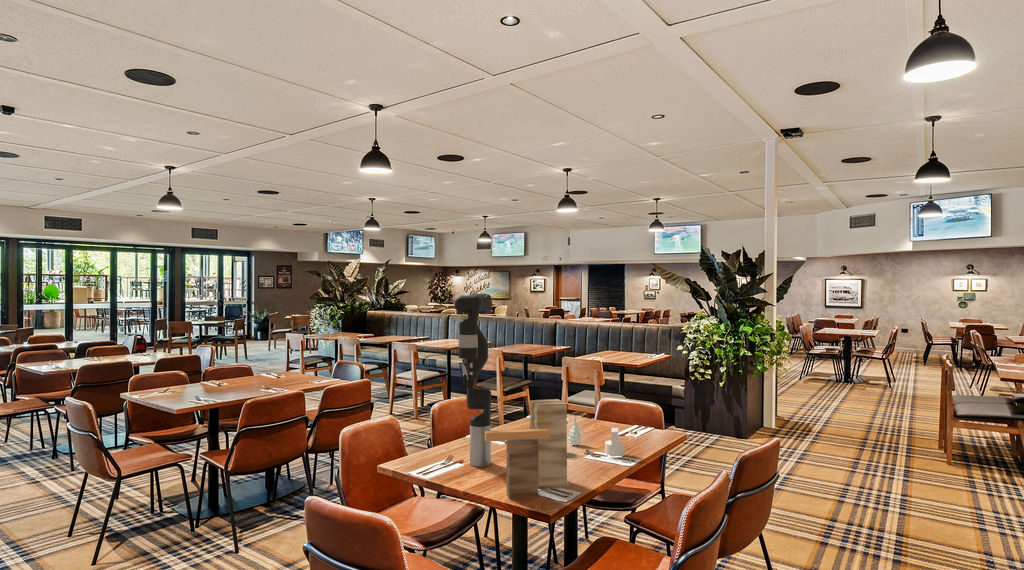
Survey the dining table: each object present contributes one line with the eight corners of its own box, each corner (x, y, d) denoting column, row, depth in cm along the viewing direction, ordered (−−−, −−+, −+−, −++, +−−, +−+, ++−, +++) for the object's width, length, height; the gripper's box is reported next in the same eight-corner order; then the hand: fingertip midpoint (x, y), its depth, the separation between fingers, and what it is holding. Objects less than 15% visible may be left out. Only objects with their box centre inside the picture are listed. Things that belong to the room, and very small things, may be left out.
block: (506, 494, 207) (506, 438, 207) (534, 492, 209) (534, 436, 210) (509, 499, 202) (509, 441, 203) (538, 496, 205) (538, 439, 205)
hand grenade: (567, 446, 274) (567, 417, 274) (570, 443, 280) (570, 415, 280) (582, 447, 271) (582, 419, 272) (585, 444, 277) (585, 416, 277)
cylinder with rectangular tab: (624, 459, 253) (624, 432, 253) (604, 457, 254) (604, 431, 255) (624, 453, 261) (624, 427, 262) (605, 452, 263) (605, 427, 263)
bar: (484, 439, 205) (484, 431, 205) (548, 436, 209) (547, 428, 209) (485, 441, 202) (485, 433, 202) (549, 438, 206) (549, 430, 206)
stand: (527, 480, 223) (526, 400, 224) (560, 477, 227) (559, 398, 228) (535, 490, 212) (535, 405, 212) (570, 486, 215) (570, 403, 216)
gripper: (481, 347, 213) (481, 389, 212) (474, 344, 226) (474, 384, 226) (461, 347, 211) (461, 390, 210) (456, 344, 225) (455, 385, 224)
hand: (468, 387), depth 218 cm, fingers open, 8 cm apart
